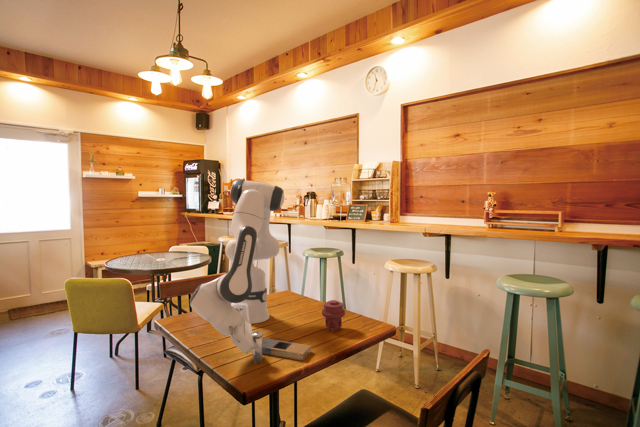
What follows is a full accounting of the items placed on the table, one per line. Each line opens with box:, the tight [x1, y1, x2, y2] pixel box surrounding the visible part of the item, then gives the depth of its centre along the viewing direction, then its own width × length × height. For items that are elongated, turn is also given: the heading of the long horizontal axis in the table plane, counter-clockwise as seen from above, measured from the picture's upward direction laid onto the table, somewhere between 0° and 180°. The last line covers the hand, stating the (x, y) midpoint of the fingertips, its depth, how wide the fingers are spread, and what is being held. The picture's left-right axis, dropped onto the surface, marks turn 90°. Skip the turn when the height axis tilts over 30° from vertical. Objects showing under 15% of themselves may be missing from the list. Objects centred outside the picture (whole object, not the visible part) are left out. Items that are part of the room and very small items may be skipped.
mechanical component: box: [321, 299, 346, 333], centre depth 145 cm, size 12×10×10 cm
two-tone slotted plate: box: [262, 337, 312, 362], centre depth 124 cm, size 20×7×2 cm, turn 69°
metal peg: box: [252, 330, 264, 364], centre depth 117 cm, size 4×4×10 cm
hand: (259, 346), depth 117 cm, fingers closed on metal peg, 3 cm apart
